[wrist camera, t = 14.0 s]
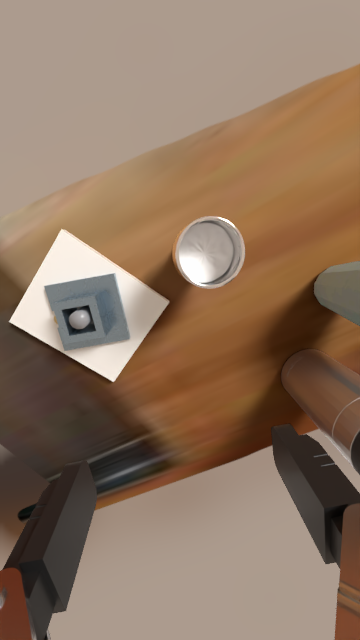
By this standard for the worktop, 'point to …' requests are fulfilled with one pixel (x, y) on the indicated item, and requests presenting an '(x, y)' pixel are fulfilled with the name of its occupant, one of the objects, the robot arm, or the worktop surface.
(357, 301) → the disposable coffee cup
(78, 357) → the post base
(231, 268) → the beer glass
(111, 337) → the flange
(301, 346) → the worktop surface
